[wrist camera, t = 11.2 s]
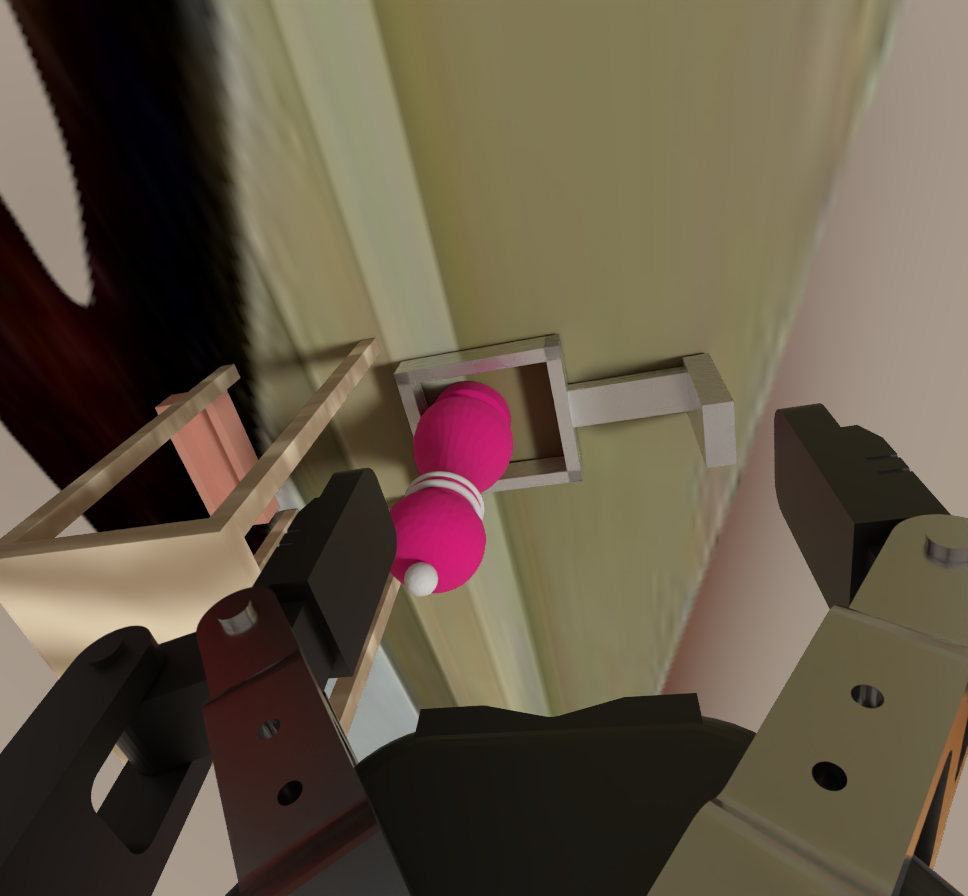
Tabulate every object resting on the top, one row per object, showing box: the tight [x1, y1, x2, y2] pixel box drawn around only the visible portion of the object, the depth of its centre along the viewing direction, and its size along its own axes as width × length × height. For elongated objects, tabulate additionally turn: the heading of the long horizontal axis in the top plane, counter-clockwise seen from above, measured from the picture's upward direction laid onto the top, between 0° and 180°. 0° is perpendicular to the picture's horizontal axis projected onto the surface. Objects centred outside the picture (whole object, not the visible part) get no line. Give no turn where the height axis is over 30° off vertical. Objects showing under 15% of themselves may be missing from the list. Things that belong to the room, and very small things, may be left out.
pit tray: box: [155, 390, 279, 525], centre depth 53 cm, size 12×5×2 cm, turn 13°
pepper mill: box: [390, 382, 513, 596], centre depth 41 cm, size 7×7×20 cm
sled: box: [394, 334, 737, 493], centre depth 45 cm, size 11×22×8 cm, turn 103°
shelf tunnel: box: [0, 338, 401, 766], centre depth 42 cm, size 15×13×24 cm
